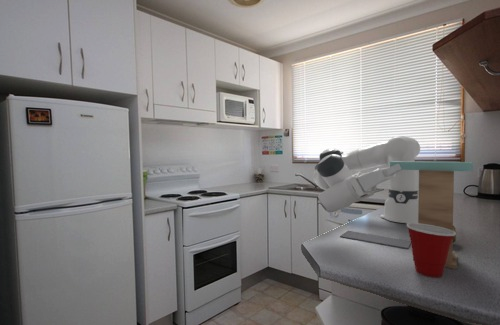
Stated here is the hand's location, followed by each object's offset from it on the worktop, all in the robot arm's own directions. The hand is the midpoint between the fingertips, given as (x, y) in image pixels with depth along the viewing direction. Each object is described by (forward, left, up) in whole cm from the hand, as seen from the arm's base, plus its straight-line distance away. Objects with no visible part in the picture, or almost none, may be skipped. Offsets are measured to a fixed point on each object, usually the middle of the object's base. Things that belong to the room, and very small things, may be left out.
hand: (402, 165), depth 84 cm
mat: (-9, -10, -27) cm, 30 cm away
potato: (-20, +10, -27) cm, 35 cm away
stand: (0, +9, -27) cm, 29 cm away
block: (0, +7, -1) cm, 7 cm away
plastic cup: (+12, +8, -27) cm, 31 cm away
